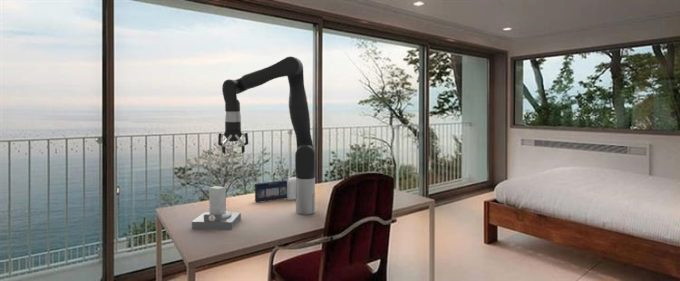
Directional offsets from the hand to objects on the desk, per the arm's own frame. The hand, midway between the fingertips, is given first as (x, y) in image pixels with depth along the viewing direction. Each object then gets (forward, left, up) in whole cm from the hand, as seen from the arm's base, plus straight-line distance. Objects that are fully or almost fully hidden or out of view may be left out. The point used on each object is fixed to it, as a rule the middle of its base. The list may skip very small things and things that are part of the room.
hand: (233, 153), depth 188 cm
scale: (+1, +23, -28) cm, 36 cm away
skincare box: (+1, +21, -24) cm, 32 cm away
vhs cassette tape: (-15, -19, -28) cm, 37 cm away
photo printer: (-28, -22, -28) cm, 45 cm away
